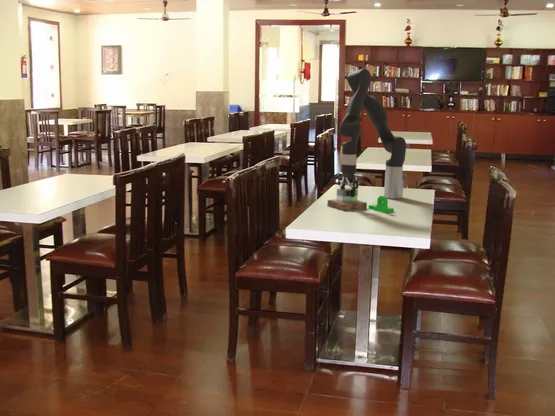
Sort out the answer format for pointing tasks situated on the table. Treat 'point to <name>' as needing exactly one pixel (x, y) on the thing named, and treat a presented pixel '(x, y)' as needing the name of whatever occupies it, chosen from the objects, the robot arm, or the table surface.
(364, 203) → the walnut stand
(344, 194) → the block
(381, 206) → the mechanical part
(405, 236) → the table surface
